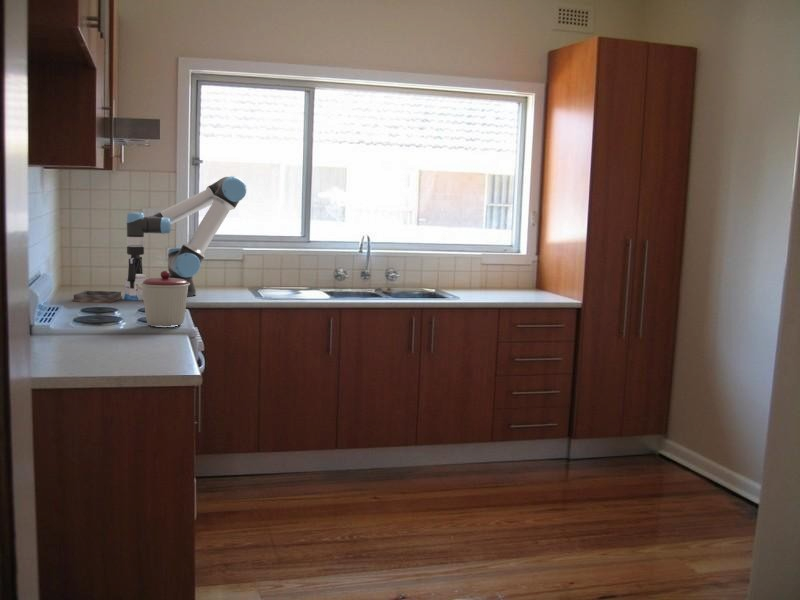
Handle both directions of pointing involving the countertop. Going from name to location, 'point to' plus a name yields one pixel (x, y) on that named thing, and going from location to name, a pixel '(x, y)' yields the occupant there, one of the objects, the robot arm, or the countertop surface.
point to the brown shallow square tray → (97, 296)
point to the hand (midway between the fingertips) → (135, 294)
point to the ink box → (139, 290)
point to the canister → (165, 300)
